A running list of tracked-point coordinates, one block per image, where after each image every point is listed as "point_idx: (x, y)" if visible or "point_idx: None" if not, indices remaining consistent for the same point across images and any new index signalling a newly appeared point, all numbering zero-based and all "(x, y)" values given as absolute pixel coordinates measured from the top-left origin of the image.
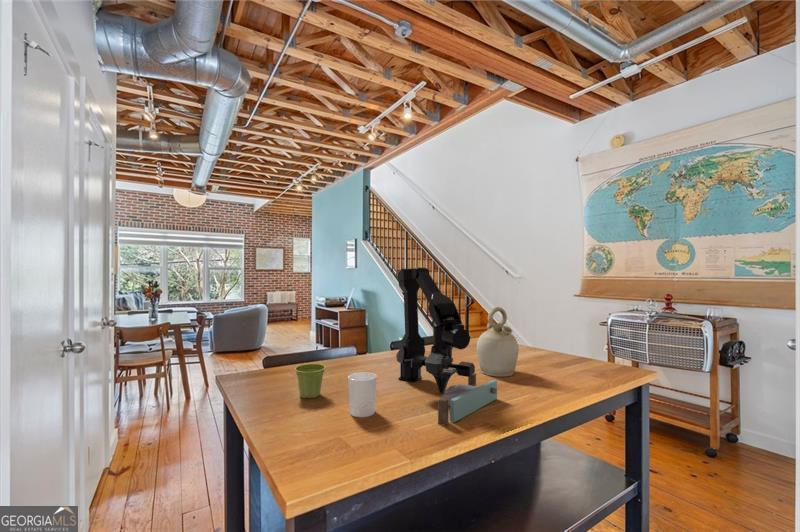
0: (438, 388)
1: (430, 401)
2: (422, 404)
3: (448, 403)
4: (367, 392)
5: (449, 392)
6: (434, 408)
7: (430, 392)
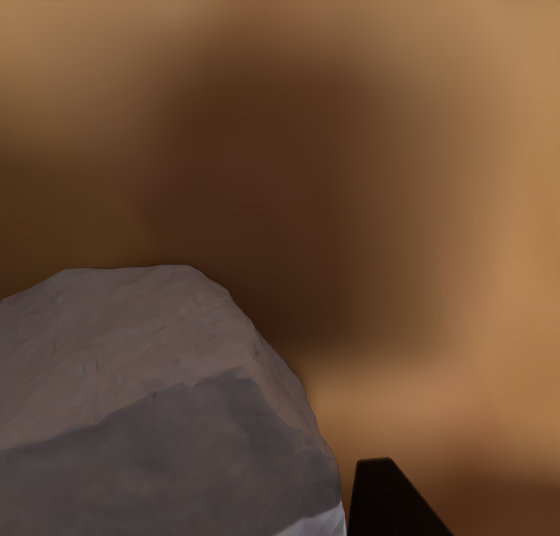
0: (448, 529)
1: (465, 276)
2: (553, 91)
3: (150, 283)
4: None
5: (209, 503)
6: (292, 38)
7: (549, 495)
